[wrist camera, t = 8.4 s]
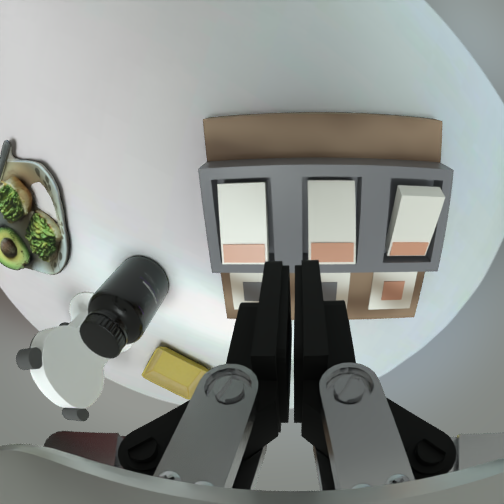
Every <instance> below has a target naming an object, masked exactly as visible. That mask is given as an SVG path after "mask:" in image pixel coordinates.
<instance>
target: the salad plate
mask: <svg viewBox="0 0 504 504" xmlns="http://www.w3.org/2000/svg"><path fill="white" fill-rule="evenodd" d="M35 182H41V184H42V185H43V186H44V187H45V189H46V190H47V192H48V194H49V195H50V197H51V199H52V201H53V205H54V207H55V211H56V215H57V220H58V223H56V222H55V221H54V220H53V219H52V218H51V217H49V216H48V215H47V214H45V213H44V212H42V211H41V210H40V209H39V208H38V207H37V205H36V203H35V201H34V199H33V191H32V190H31V184H33V183H35ZM69 248H70V241H69V235H68V232H67V229H66V224H65V217H64V210H63V206H62V202H61V199H60V194H59V188H58V186H57V184H56V182H55V180H54V178H53V176H52V175H51V173H50V172H49V171H48V169H47V168H46V167H45V166H44V165H43V164H42V163H39V162H37V161H32V160H20V159H16V158H15V157H14V156H13V155H12V149H11V143H10V142H9V141H8V140H5V141H4V143H3V146H2V151H1V155H0V263H1V264H3V265H4V266H6V267H8V268H10V269H13V270H20V269H24V268H28V269H32V270H36V271H38V272H42V273H45V274H51V275H55V274H58V273H60V272H61V271H62V270H63V268H64V267H65V265H66V263H67V261H68V258H69Z"/></svg>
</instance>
